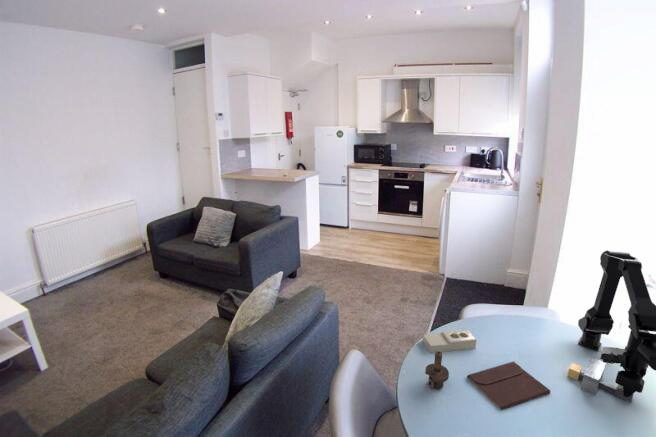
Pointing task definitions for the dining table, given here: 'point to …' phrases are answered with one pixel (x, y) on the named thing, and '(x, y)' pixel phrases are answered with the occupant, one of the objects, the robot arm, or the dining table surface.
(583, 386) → the plate
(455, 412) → the dining table surface
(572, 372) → the plug
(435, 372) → the industrial component
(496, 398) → the brown leather pouch
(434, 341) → the electrical outlet
